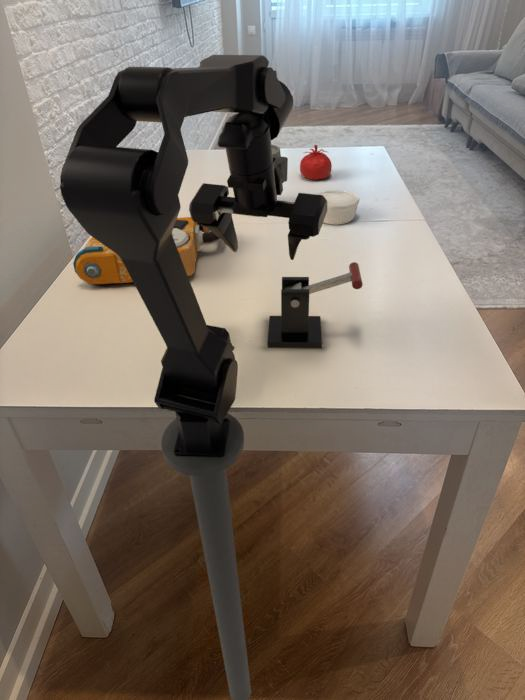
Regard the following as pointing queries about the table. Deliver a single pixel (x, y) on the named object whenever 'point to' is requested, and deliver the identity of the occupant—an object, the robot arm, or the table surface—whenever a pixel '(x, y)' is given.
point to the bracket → (294, 319)
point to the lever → (334, 281)
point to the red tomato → (315, 165)
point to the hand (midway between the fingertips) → (264, 253)
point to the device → (108, 267)
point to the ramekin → (340, 206)
